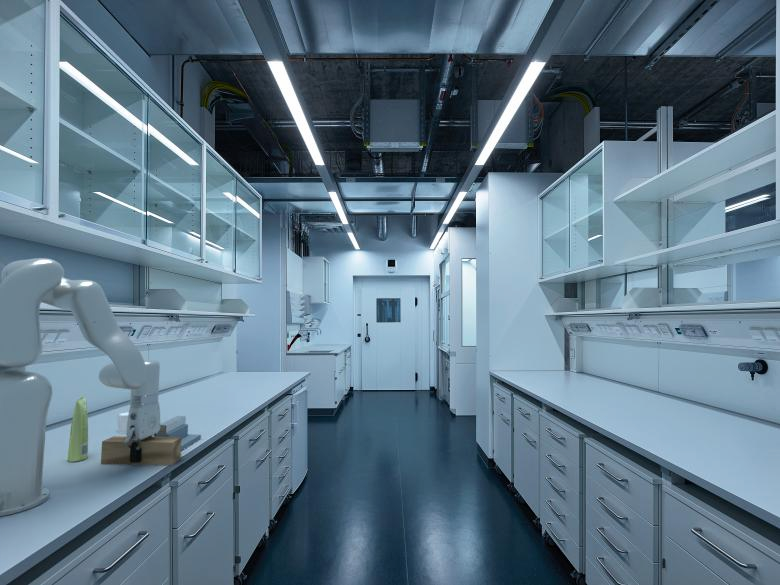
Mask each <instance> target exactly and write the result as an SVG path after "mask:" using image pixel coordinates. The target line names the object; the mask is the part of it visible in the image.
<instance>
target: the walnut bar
mask: <svg viewBox="0 0 780 585" xmlns="http://www.w3.org/2000/svg"><path fill="white" fill-rule="evenodd" d="M126 437H127V435H126V436H123V435H122V436H117V435H114V436H111V437H109V438H107V439H105V440H102V441H101V454H100V457H101V458H100V465H128V466H129V465H130V466H131V465H133V466H135V465H137V466H173V465H174V464H176V463H177V462H179V461H180V460H181V457H182V451H181V438H182V437H147V438H145V439H143V440H142V442H141V446H140V449H142V452H141V462H130V449H129V447H128V445H126V444H125V443H124V442H125V439H126ZM135 438H137V437H135ZM137 442H138V441H135V443H136V444H137Z"/></svg>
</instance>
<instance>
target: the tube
mask: <svg viewBox="0 0 780 585" xmlns="http://www.w3.org/2000/svg"><path fill="white" fill-rule="evenodd" d="M72 414H73V415H72V418H71V425H70V427H71V428H70V434H69V442H68V453H67V461H68V462H71V463H75V462H80V461H83V460H86V459H87V458H88V457H89V455H88V454H89V421H88V420H89V418H88V404H87V398H86V395H82V396H81V397H78V398H77V399H76V402H75V405H74V409H73V413H72Z"/></svg>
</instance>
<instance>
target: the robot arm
mask: <svg viewBox="0 0 780 585" xmlns="http://www.w3.org/2000/svg"><path fill="white" fill-rule="evenodd" d="M0 277H1V281H2V282H1V283H0V517H1V516H2V517H4V516H7V515H13V514H17V513H20V512H24V511H27V510H29V509H32V508H35V507H37V506H39V505H41V504H43V503H44V502H46V501H47V500H48V499H49V497H50V493H51V492H50V490H49V489H47V488H43V478H44V476H43V475H44V474H43V473H44V460H45V449H46V448H45V443H46V431H47V428H46V427H47V420H48V413H49V409H50V405H51V402H52V397H53V386H52V383H51V382H50V380H49V379H48V378H47V377H46V376H44V375H42V374H40V373H37V372H33V371H27V368H26V367H28V366H31V365H32V364H34V363H36V362H37V361H38V360H39V359H40V358H41V356H42V353H43V340H42V330H41V320H40V308H41V304H42V303H43V304H46V305H49V306H52V307H54V308H57V309H62V310H66V311H68V310H70V311H71V314H72V316H73V318H74V320H75V321H76V324H77V325H78V328H79V330H80V332H81V335H82V337H83V339H84V340H85V341H86V342H88V343H89V344H90V345H92V347H95V348H97V349H98V350H100V351H101V352H103V353H104V354H105V355H107V357H108V358H109V359H110V360H111V363H108V364H106V365H103V367H102V368H101V369H100V371H99V373H98V379H99V382H100V383H101V384H102V385H104V386H106V387H110V388H115V389H124V390H130V399H129V406H130V407H129V411H128V412H129V414H128V421H127V432H126V433H127V434H126V436H127V437H126V439H125V442H124V443H125V444H126V445H128V447H129V449H130V462H141V452H142V449H140V446H141V442H142V440H143V439H145V438H147V437H155V436H156V433H157V432H158V431H159V430H160V424H161V408H160V407H161V406H160V403H159V393H160V392H159V391H160V372H161V371H160V370H161V368H160V365H161V364H160V362H159V361H158V360H155V359H144V357H143V356H142V353H141V351H140V349H139V348H138V347H137V345H136V344H135V343H134V341H133V340H131V338H130V337H129V336H128V335H127V334H126V333H125V332H124V331H123V330H122V329H121V327H120V325H119V324H118V322H117V319H116V316H115V315H114V313H113V310H112V307H111V306H110V303H109V301H108V298H107V296H106V294H105V292H104V290H103V288H102V286H101V285H100V284H99V283H97V282H96V281H94V280H89V279H88V280H87V279H73V280H72V279H69V278H65V269H64V267H63V266H62V264H61V263H59V261H56V260H54V259H50V258H45V257H43V258H42V257H41V258H39V257H37V258H36V257H35V258H30V259H21V260H15V261H12V262H9V263H8V264H7V265H5V266H4V267H3V269H2V271H1V274H0ZM135 437H137V438H135ZM135 441H138V442H137V444H136V443H135Z"/></svg>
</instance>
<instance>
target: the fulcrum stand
mask: <svg viewBox="0 0 780 585" xmlns="http://www.w3.org/2000/svg"><path fill="white" fill-rule="evenodd" d="M186 419H187V415H177V416H175V417H174V416H173V417H172V418H170V419H167V420H165V421H164V422H160V430H159V431H158V432H157V433H156V436H155V437H182V438H181V450H182V451H183V450H185V449H186V447H187V446H188V447H190V446H191V445H193V444H194V442H195V443H196V442H198V441H199V439H200V438H201V439H202V434H194V433H193V434H192V433H191V434H189V433H188V432H189V423H186ZM201 439H200V440H201ZM197 440H198V441H197ZM192 443H193V444H192ZM189 445H190V446H189ZM188 447H187V448H188ZM184 448H185V449H184Z"/></svg>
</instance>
